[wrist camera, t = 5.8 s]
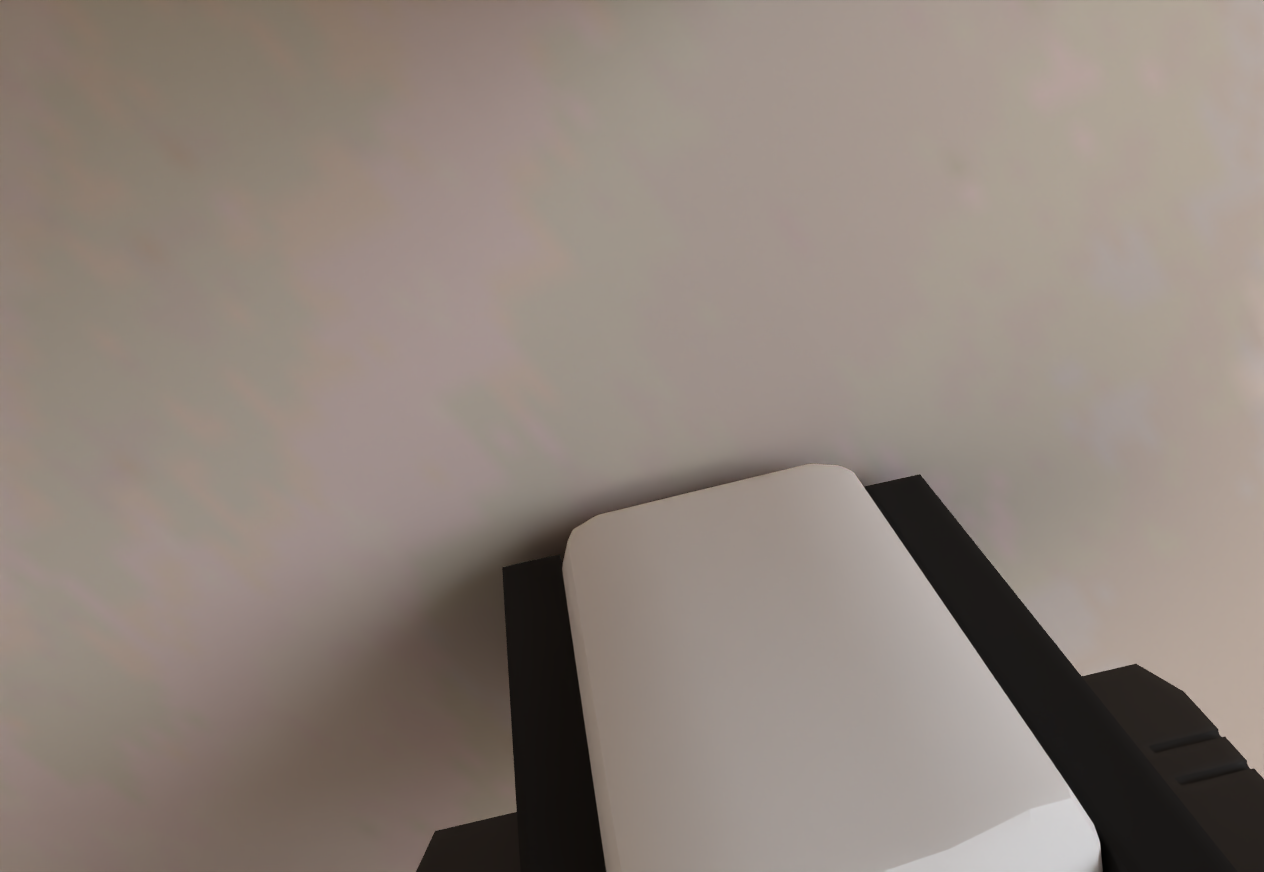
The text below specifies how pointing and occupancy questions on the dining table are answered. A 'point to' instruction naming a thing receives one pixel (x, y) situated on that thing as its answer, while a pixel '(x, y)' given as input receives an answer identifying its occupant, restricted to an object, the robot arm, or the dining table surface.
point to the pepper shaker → (796, 696)
